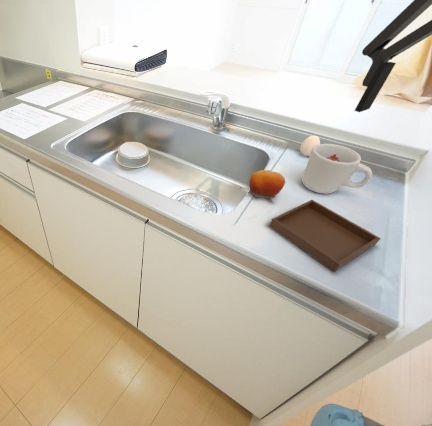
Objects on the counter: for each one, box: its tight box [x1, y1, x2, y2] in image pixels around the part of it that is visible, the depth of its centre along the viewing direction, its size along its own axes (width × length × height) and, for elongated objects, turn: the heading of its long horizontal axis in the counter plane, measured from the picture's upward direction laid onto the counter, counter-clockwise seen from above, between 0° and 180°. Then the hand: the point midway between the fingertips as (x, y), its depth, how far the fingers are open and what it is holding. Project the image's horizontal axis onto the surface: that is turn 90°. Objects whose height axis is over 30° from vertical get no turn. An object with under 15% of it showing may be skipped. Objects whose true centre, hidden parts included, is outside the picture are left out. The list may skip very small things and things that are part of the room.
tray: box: [268, 199, 382, 273], centre depth 62 cm, size 15×14×2 cm
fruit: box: [249, 169, 286, 203], centre depth 73 cm, size 8×8×8 cm
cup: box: [301, 143, 373, 194], centre depth 72 cm, size 14×10×10 cm
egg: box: [299, 134, 321, 157], centre depth 87 cm, size 5×5×7 cm
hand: (413, 125), depth 39 cm, fingers open, 13 cm apart
